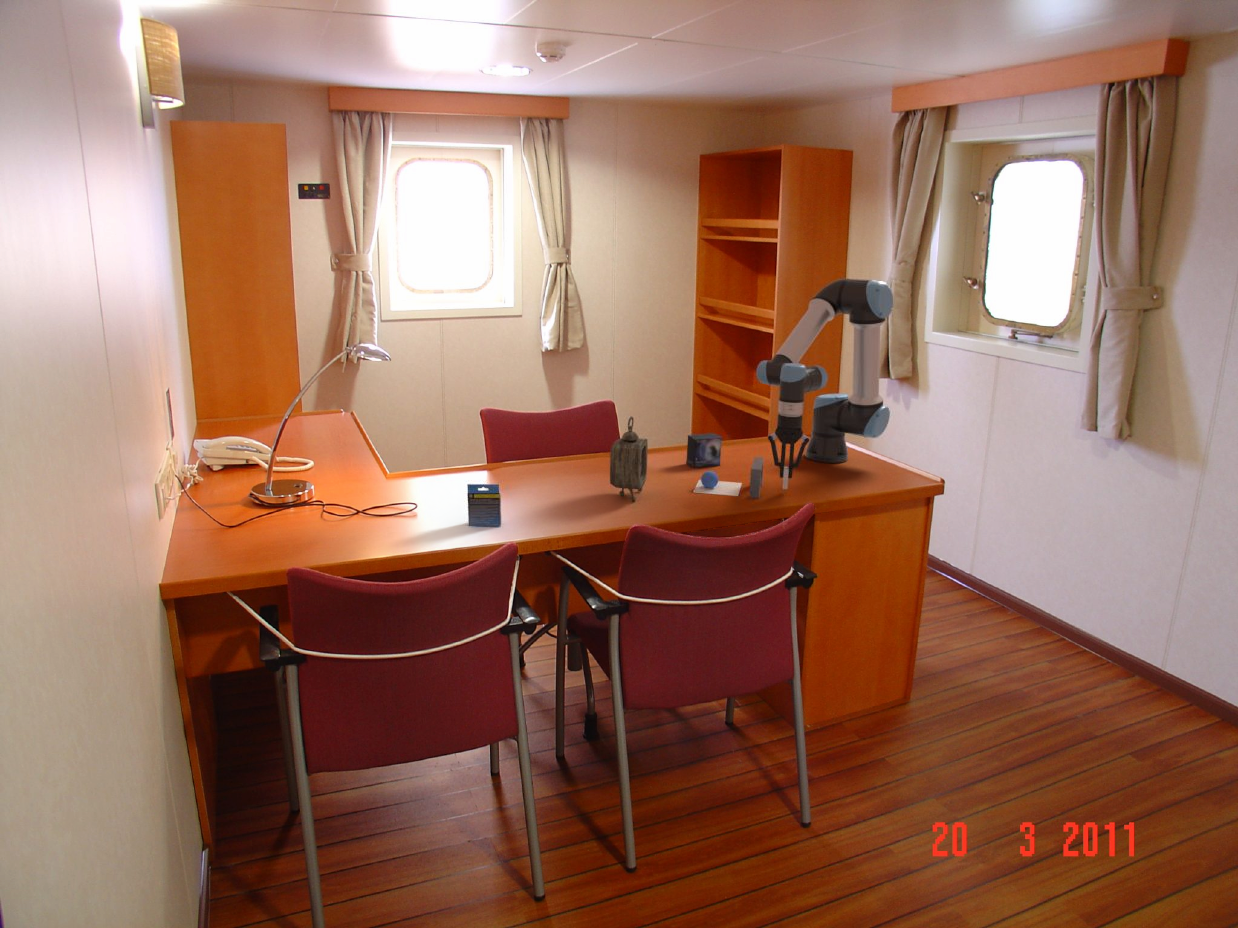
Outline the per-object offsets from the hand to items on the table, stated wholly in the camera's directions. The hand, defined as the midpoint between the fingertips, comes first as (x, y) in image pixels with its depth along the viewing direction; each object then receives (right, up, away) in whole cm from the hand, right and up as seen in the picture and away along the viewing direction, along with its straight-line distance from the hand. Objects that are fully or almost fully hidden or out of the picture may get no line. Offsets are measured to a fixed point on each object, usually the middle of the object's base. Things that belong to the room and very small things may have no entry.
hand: (785, 487), depth 280 cm
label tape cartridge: (-89, -10, -32) cm, 95 cm away
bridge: (-9, -1, +2) cm, 9 cm away
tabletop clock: (-49, -3, -5) cm, 50 cm away
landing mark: (-20, 0, +5) cm, 21 cm away
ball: (-23, +2, +4) cm, 24 cm away
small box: (-23, +7, +31) cm, 39 cm away
